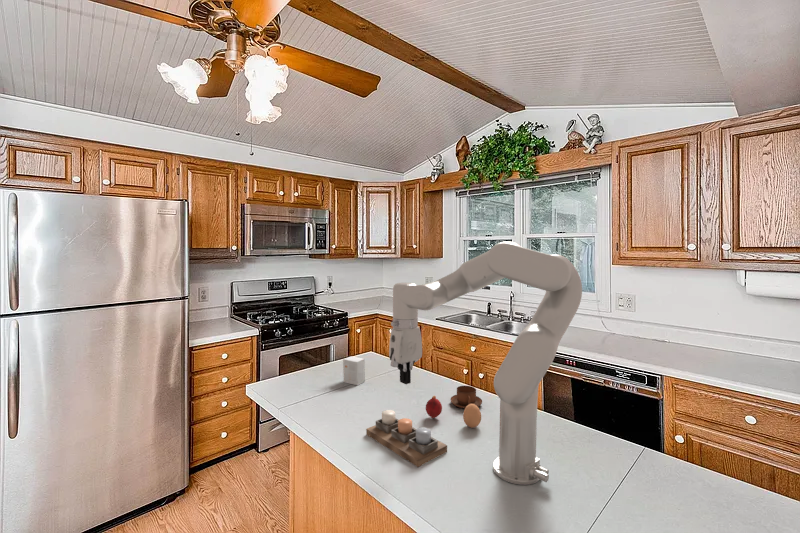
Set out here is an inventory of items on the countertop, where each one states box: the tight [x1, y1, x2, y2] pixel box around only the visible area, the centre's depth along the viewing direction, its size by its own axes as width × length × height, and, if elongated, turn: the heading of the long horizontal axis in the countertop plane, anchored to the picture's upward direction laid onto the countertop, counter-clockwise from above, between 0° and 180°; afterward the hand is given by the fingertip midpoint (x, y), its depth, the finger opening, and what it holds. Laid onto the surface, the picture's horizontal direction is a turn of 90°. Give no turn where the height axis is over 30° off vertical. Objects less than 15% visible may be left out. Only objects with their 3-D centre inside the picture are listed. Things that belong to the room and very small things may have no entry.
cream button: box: [381, 409, 396, 425], centre depth 126 cm, size 4×4×3 cm
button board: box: [365, 417, 448, 468], centre depth 120 cm, size 24×12×4 cm, turn 41°
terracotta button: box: [398, 417, 413, 435], centre depth 120 cm, size 4×4×3 cm
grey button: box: [415, 427, 432, 445], centre depth 113 cm, size 4×4×3 cm
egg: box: [462, 404, 482, 429], centre depth 130 cm, size 6×6×8 cm
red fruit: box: [425, 395, 443, 419], centre depth 137 cm, size 6×6×8 cm
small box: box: [342, 355, 366, 386], centre depth 172 cm, size 8×6×10 cm
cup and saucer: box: [450, 385, 483, 409], centre depth 148 cm, size 12×12×6 cm
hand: (405, 382), depth 119 cm, fingers closed
